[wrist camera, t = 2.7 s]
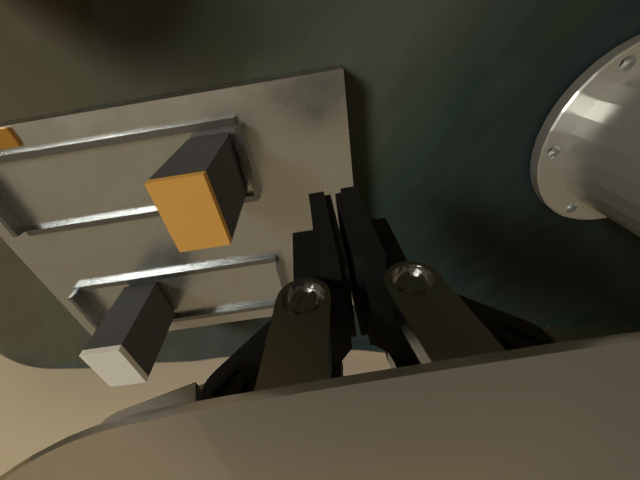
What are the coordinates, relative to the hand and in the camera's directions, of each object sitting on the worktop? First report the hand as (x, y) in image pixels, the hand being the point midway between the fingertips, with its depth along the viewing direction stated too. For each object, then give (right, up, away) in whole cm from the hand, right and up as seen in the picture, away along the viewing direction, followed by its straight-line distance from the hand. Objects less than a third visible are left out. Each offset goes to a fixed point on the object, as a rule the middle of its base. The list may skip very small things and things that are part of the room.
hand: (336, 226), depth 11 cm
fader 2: (-7, +4, +8) cm, 11 cm away
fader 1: (-14, -5, +14) cm, 20 cm away
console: (-10, +1, +12) cm, 16 cm away
